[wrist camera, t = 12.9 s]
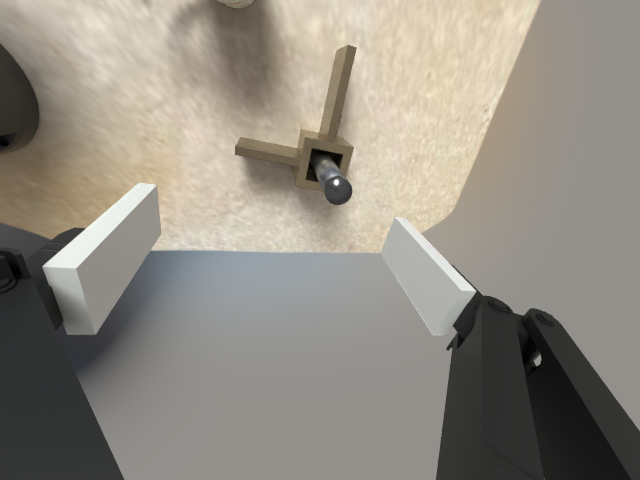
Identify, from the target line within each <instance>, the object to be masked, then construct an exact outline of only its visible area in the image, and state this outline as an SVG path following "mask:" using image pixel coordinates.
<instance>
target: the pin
mask: <svg viewBox="0 0 640 480" xmlns="http://www.w3.org/2000/svg"><path fill="white" fill-rule="evenodd" d="M309 161H310V163H311V165H312V167H313V170H314V172H315V174H316V176H317V178H318V181H319V183H320V185H321V187H322V189H323V192H324V194H325V196H326V198H327V200H328V201H329V202H330V203H332V204H334V205H341V204H344V203H346V202H347V201H348V200H349V199H350V197H351V195H352V186H351V184H350V183H349V182H348V180H347V179H346V178H345V176H344V175H343V174H342V172H341V171H340V170H339V168H338V167H337V166H336V164H335V163H334V162H333V160H332V159H331V158H330V156H329V155H328V154H327V152H326V151H325V150H320V149H315V148H313V149H312V150H311V155H310V160H309Z"/></svg>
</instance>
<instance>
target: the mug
mask: <svg viewBox="0 0 640 480" xmlns="http://www.w3.org/2000/svg"><path fill="white" fill-rule="evenodd" d="M217 1H219V2H221V3H223V4H225V5H227V6H229V7H232V8H244V7H247V6H249V5H250V4H251V3H252V2H253V1H254V0H217Z"/></svg>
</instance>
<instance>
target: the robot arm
mask: <svg viewBox="0 0 640 480" xmlns="http://www.w3.org/2000/svg"><path fill="white" fill-rule="evenodd" d="M37 125H38V106H37V101H36V98H35V95H34V92H33V89H32V87H31V85H30V83H29V81H28V79H27V77H26V76H25V74H24V72H23V71H22V69H21V68H20V66H19V65H18V64H17V62H16V61H15V60H14V59H13V57H12V56H11V55H10V54H9V53H8V52H7V50H6V49H5V48H4V47H3V46H2V45H1V44H0V154H4V153H8V152H11V151H14V150H17V149H19V148H21V147H23V146H24V145H26V144H27V143H28V142H29V141H30V140H31V138H32V137H33V136H34V134H35V132H36V129H37ZM160 234H161V226H160V215H159V203H158V192H157V185H152V184H145V183H138V184H137V185H136V186H135V187H134V188H132V189H131V190H130V191H129V192H128V193H127V194H125V195H124V196H123V197H122V198H121V199H120V200H118V201H117V202H116V203H115V204H114V205H113V206H112V207H110V208H109V209H108V210H107V211H106V212H105V213H103V214H102V215H101V216H100V217H99V218H98V219H97V220H95V221H94V222H93V223H92V224H91V225H90V226H88V227H87V228H86V229H85V228H73V229H70V230H68V231H66V232H63V233H61V234H59V235H58V236H56V237H55V238H54V239H52V240H51V241H50V242H49V244H46V245H45V246H44V247H42V248H41V250H40V251H37V252H36V253H35V254H33V255H32V256H31V257H29V258H28V259H27V260H26V261H24V258H23V256H22V254H21V253H20V252H19V251H17V250H14V249H10V248H0V480H124V478H123V476H122V474H121V472H120V469H119V467H118V465H117V463H116V461H115V458H114V456H113V454H112V452H111V450H110V448H109V446H108V443H107V441H106V439H105V437H104V435H103V432H102V430H101V428H100V426H99V424H98V422H97V419H96V417H95V415H94V413H93V411H92V408H91V406H90V404H89V402H88V400H87V398H86V395H85V393H84V391H83V389H82V387H81V385H80V382H79V380H78V378H77V376H76V374H75V371H74V369H73V367H72V365H71V363H70V361H69V359H68V356H67V354H66V352H65V350H64V348H63V346H62V343H61V341H60V339H59V337H58V335H57V333H56V330H57V329H58V327H59V326H60V325H61V324H62V323H63V324H64V327H65V330H66V332H67V334H68V335H96V333H97V332H98V330H99V328H100V327H101V325H102V324H103V322H104V321H105V319H106V318H107V316H108V315H109V313H110V312H111V310H112V308H113V307H114V305H115V304H116V302H117V301H118V299H119V297H120V296H121V295H122V293H123V291H124V290H125V288H126V287H127V285H128V284H129V282H130V281H131V279H132V278H133V276H134V274H135V273H136V271H137V270H138V268H139V267H140V265H141V264H142V262H143V261H144V259H145V258H146V256H147V255H148V253H149V251H150V250H151V248H152V247H153V245H154V244H155V242H156V241H157V239H158V238H159V236H160ZM380 254H381V256H382V257H383V259H384V260H385V262H386V263H387V265H388V266H389V268H390V270H391V271H392V273H393V274H394V276H395V278H396V279H397V281H398V282H399V284H400V285H401V287H402V288H403V290H404V292H405V293H406V294H407V296H408V298H409V299H410V301H411V302H412V304H413V306H414V307H415V309H416V310H417V312H418V313H419V315H420V316H421V318H422V319H423V321H424V323H425V324H426V326H427V327H428V329H429V330H430V332H431V333H432V335H436V336H439V335H440V336H443V335H445V336H446V335H447V334H448V333H449V331H450V330H451V328H452V327H454V328H455V329H456V331H457V334H456V335H455V337H454V338H453V340H452V341H451V342H450V344H449V345H448V347H447V350H449V349H450V348H453V349H452V356H451V364H450V372H449V380H448V388H447V396H446V404H445V412H444V421H443V428H442V437H441V444H440V452H439V459H438V468H437V476H436V480H544V478H545V480H640V431H639V430H638V428H637V427H636V426H635V424H634V423H633V422H632V420H631V419H630V418H629V416H628V415H627V413H626V412H625V411H624V409H623V408H622V407H621V405H620V404H619V403H618V401H617V400H616V399H615V397H614V396H613V395H612V393H611V392H610V390H609V389H608V388H607V386H606V385H605V383H604V382H603V381H602V379H601V378H600V377H599V375H598V374H597V373H596V371H595V370H594V369H593V367H592V366H591V365H590V363H589V362H588V361H587V359H586V358H585V356H584V355H583V354H582V352H581V351H580V349H579V348H578V347H577V345H576V344H575V343H574V342H573V340H572V339H571V337H570V336H569V334H568V333H567V332H566V330H565V329H564V328H563V326H562V325H561V324H560V323H559V322H558V321H557V320H556V319H555V318H553V316H552V315H550V314H548V313H546V312H543V311H541V310H538V309H534V308H532V309H529V310H528V311H527V313H526V314H525V315H524V316H522V315H518V314H515V313H513V311H512V310H511V309H510V307H509V306H508V305H506V304H505V303H503V302H502V301H500V300H498V299H496V298H494V297H491V296H483V295H482V294H481V293H480V292H479V291H478V290H477V289H476V288H475V287H474V286H473V285H472V284H471V283H470V282H469V281H468V280H466V278H465V277H464V276H463V275H462V274H460V272H459V271H458V270H457V269H456V268H455V267H454V266H453V265H451V264H450V263H448V262H447V261H446V260H445V258H444V257H443V256H442V255H441V254H440V253H439V252H438V251H437V250H436V249H435V248H434V247H433V246H432V245H431V244H430V243H429V242H428V241H427V240H426V239H425V238H424V237H423V236H422V235H421V234H420V233H419V232H418V231H417V230H416V229H415V228H414V227H413V226H412V225H411V224H410V222H409V221H408V220H407V219H405V218H398V217H395V218H394V220H393V223H392V225H391V228H390V230H389V233H388V235H387V238H386V240H385V243H384V245H383V248H382V250H381V253H380ZM540 354H541V359H542V360H541V364H540V365H538V366H536V365H535V363H534V360H535V359H536V358H537V357H538V356H539V355H540Z"/></svg>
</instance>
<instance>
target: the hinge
mask: <svg viewBox="0 0 640 480" xmlns="http://www.w3.org/2000/svg"><path fill="white" fill-rule="evenodd" d="M355 53H356V47H353V46H350V45H347V46H345V47H343V48H340V49H338V50H337V51H336V56H335V60H334V65H333V70H332V75H331V79H330V84H329V89H328V94H327V98H326V103H325V108H324V113H323V117H322V122H321V127H320V132H319V133H316V132H311V131H307V130H302V129H301V131H300V136H299V142H298V147H297V148H292V147H287V146H282V145H277V144H272V143H267V142H262V141H257V140H252V139H247V138H243V137H240V139H239V141H238V143H237V144H236V146H235V155H239V156H245V157H250V158H255V159H261V160H266V161H272V162H277V163H282V164H288V165H293V166H294V170H293V176H294V181H295V185H296V187H302V188H307V189H313V190H319V191H323V189H322V187H321V185H320V183H319V181H318V178H317V176H316V174H315V172H314V170H313V169H308V165H309V160H310V155H311V150H312V148H315V149H320V150H325V151H329V152H333V153H332V157H331V159H332V160H333V162H334V163H335V164H336V166H337V167H338V168H339V170H340V171H341V172H342V174H343V175H344V176H345V178H346V174H347V170H348V167H349V163H350V160H351V156H352V152H353V149H354V147H353V146H352V145H350V144H349V143H348V142H347V141H346V140H344V139H343V138H338V137H335V136H336V132H337V128H338V124H339V121H340V118H341V111H342V107H343V103H344V99H345V94H346V90H347V86H348V82H349V78H350V74H351V69H352V65H353V61H354V57H355Z"/></svg>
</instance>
